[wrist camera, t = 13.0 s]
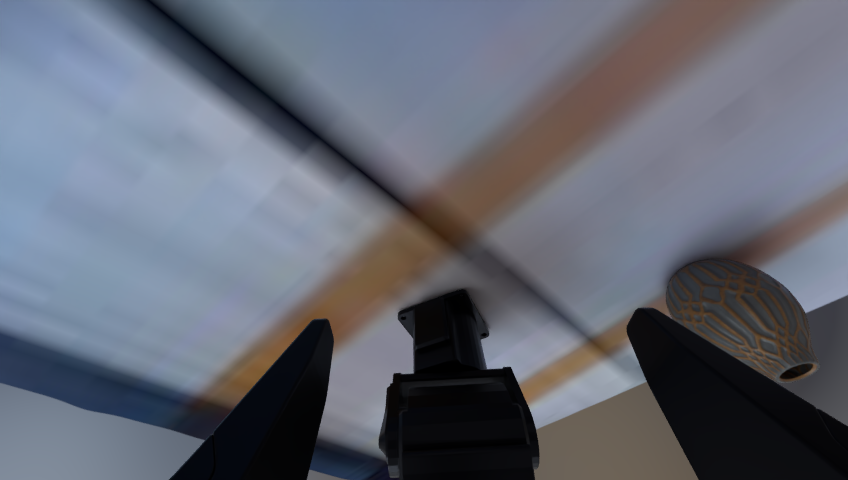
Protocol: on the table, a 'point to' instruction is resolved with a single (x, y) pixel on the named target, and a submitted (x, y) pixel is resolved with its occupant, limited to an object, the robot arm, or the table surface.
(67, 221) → the table surface
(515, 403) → the robot arm
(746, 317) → the vase
